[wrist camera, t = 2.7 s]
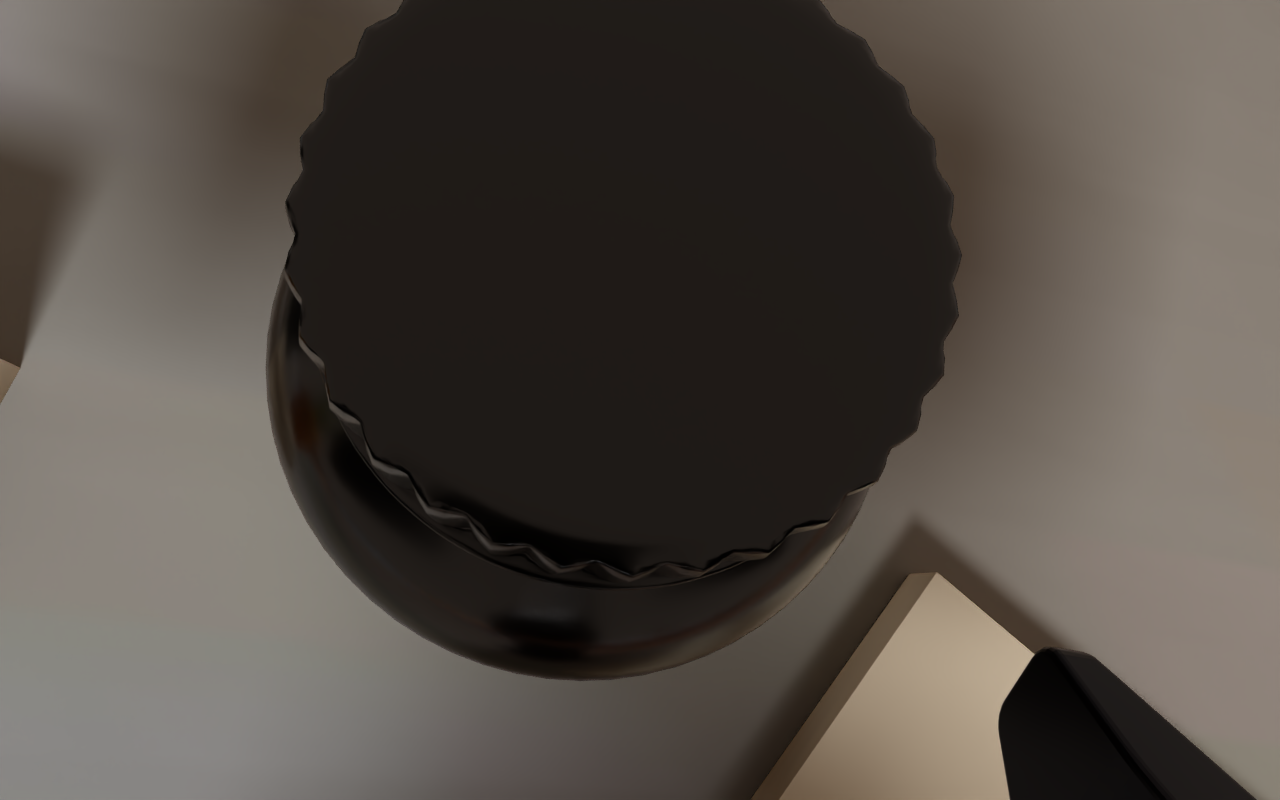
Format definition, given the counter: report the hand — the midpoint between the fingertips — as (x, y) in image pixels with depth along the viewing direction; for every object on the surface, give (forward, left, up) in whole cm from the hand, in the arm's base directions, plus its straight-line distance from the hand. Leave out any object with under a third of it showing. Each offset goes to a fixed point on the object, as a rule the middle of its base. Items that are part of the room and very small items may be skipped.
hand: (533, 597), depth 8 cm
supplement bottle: (+2, +1, -10) cm, 10 cm away
